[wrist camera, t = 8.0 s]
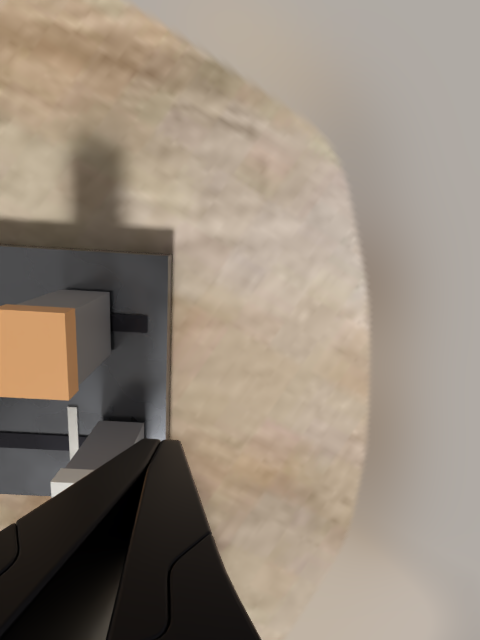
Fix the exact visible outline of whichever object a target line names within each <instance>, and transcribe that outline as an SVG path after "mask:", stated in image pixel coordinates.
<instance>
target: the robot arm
mask: <svg viewBox="0 0 480 640" xmlns="http://www.w3.org/2000/svg"><path fill="white" fill-rule="evenodd" d="M0 640H261V638H260V636H259V634H258V633H257V631H256V629H255V627H254V625H253V623H252V621H251V619H250V618H249V616H248V614H247V612H246V610H245V608H244V606H243V604H242V603H241V601H240V599H239V597H238V595H237V593H236V591H235V589H234V587H233V585H232V582H231V580H230V578H229V576H228V574H227V572H226V570H225V567H224V565H223V562H222V559H221V557H220V554H219V552H218V549H217V546H216V543H215V540H214V537H213V536H212V532H211V529H210V526H209V523H208V521H207V518H206V515H205V512H204V509H203V506H202V503H201V500H200V497H199V494H198V491H197V488H196V485H195V482H194V480H193V477H192V474H191V471H190V468H189V465H188V462H187V459H186V456H185V453H184V450H183V447H182V444H181V442H180V441H179V440H166V439H165V440H162V441H161V440H159V439H149V438H144V439H141V440H140V441H138V442H137V443H135V444H134V445H132V446H131V447H129V448H128V449H126V450H124V451H123V452H121V453H120V454H118V455H117V456H115V457H114V458H112V459H111V460H109V461H108V462H106V463H105V464H103V465H102V466H100V467H98V468H97V469H95V470H94V471H92V472H91V473H89V474H88V475H86V476H85V477H83V478H82V479H80V480H79V481H77V482H76V483H74V484H72V485H71V486H69V487H68V488H66V489H65V490H63V491H62V492H60V493H59V494H57V495H56V496H54V497H53V498H51V499H50V500H48V501H46V502H45V503H43V504H42V505H40V506H39V507H37V508H36V509H34V510H33V511H31V512H30V513H28V514H27V515H25V516H24V517H22V518H20V519H19V520H17V522H16V524H15V523H13V524H11V525H10V526H8V527H6V528H5V529H3V530H2V531H0Z"/></svg>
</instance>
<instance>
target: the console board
mask: <svg viewBox="0 0 480 640" xmlns="http://www.w3.org/2000/svg"><path fill="white" fill-rule="evenodd" d="M60 289H63V290H81V291H98V292H110V334H111V354H110V355H109V356H108V357H107V358H106V359H105V360H104V361H103V362H102V363H101V364H100V365H99V366H98V367H97V368H96V369H95V370H94V371H93V372H92V373H91V374H90V375H89V376H88V377H87V378H86V379H85V380H84V381H83V382H82V383H81V384H80V385H79V391H78V392H77V393H76V394H75V395H74V396H73V397H72V398H71V399H70V400H69V401H68V400H49V399H29V398H10V397H0V494H16V495H37V496H51V483H50V482H51V481H52V479H53V478H54V477H55V475H56V474H57V472H58V471H59V470H60V468H65V467H66V466H67V464H68V463H69V462H70V460H71V459H72V457H73V456H74V455H75V453H76V452H77V451H78V449H79V448H80V446H81V445H82V444H83V442H84V441H85V439H86V438H87V437H88V435H89V434H90V433H91V431H92V430H93V428H94V427H95V426H96V424H97V423H98V421H118V422H138V423H144V438H149V439H159V440H161V441H162V440H165V439H166V440H169V421H170V361H171V302H172V254H156V253H139V252H122V251H105V250H88V249H71V248H54V247H37V246H20V245H3V244H0V306H2V305H5V304H11V305H16V304H19V303H22V302H25V301H28V300H31V299H34V298H37V297H40V296H42V295H45V294H48V293H51V292H54V291H57V290H60Z"/></svg>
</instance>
